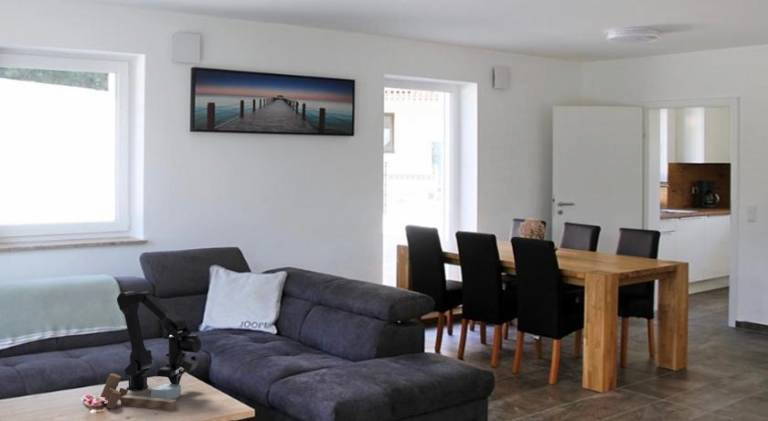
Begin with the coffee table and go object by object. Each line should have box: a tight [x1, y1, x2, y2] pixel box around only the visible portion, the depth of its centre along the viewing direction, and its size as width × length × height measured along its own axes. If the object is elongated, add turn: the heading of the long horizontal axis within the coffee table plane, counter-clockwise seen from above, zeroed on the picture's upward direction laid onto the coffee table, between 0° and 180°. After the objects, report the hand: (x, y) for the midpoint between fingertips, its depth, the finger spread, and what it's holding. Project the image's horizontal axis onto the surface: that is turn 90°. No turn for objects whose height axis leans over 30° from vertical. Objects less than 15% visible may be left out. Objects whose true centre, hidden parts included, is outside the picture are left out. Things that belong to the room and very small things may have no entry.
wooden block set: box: [99, 372, 129, 410], centre depth 302 cm, size 18×9×10 cm, turn 10°
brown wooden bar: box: [120, 394, 178, 411], centre depth 297 cm, size 22×3×3 cm, turn 73°
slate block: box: [150, 383, 182, 400], centre depth 309 cm, size 7×9×4 cm
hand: (176, 389), depth 315 cm, fingers closed
